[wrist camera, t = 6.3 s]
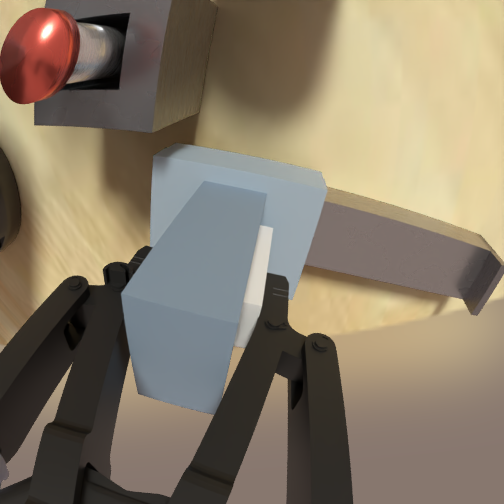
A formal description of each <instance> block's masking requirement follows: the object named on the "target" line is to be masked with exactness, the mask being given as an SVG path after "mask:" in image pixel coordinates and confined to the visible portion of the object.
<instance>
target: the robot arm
mask: <svg viewBox="0 0 504 504" xmlns="http://www.w3.org/2000/svg"><path fill="white" fill-rule="evenodd" d="M20 218H21V212H20V201H19V194H18V190H17V185H16V182H15V178H14V175H13V172H12V170H11V167H10V165H9V163H8V160H7V158H6V156H5V155H4V153H3V151H2V150H1V148H0V252H1V251H2V250H4V249H5V248H6V247H7V246H8V245H9V244H11V243H12V242H13V241H14V239H15V238H16V236H17V234H18V231H19V227H20ZM272 233H273V228H271V227H267V226H262V225H260V228H259V232H258V237H257V241H256V246H255V250H254V255H253V260H252V264H251V269H250V273H249V278H248V282H247V287H246V291H245V296H244V300H243V305H242V309H241V314H240V318H239V323H238V327H237V332H236V336H235V341H234V346H236V347H241V348H245V350H244V353H243V355H242V357H241V359H240V361H239V364H238V366H237V368H236V370H235V372H234V374H233V377H232V379H231V381H230V383H229V385H228V387H227V390H226V392H225V394H224V396H223V398H222V400H221V402H220V404H219V406H218V408H217V411H216V413H215V415H214V417H213V419H212V421H211V423H210V425H209V427H208V429H207V432H206V433H205V436H204V438H203V440H202V442H201V444H200V446H199V448H198V450H197V452H196V454H195V456H194V458H193V460H192V462H191V464H190V465H189V467H188V468H187V469H186V470H185V472H184V473H183V475H182V477H181V479H180V481H179V483H178V485H177V487H176V488H175V490H174V493H173V494H172V496H171V497H167V496H164V495H160V494H152V493H142V492H132V491H127V490H125V489H123V488H122V487H120V486H118V485H117V484H115V483H114V482H112V481H111V480H110V475H111V465H110V451H111V445H112V439H113V433H114V428H115V423H116V418H117V412H118V407H119V403H120V398H121V393H122V388H123V384H124V379H125V375H126V370H127V366H128V362H129V358H130V351H129V345H128V339H127V333H126V326H125V319H124V312H123V305H122V297H121V293H122V291H123V290H124V289H125V287H126V286H127V284H128V283H129V281H130V280H131V278H132V277H133V275H134V274H135V272H136V271H137V270H138V268H139V267H140V265H141V264H142V262H143V261H144V260H145V258H146V257H147V255H148V254H149V253H150V251H151V250H152V248H153V247H149V246H145V247H143V248H141V249H140V250H138V251H137V253H136V254H135V255H134V257H133V258H132V259H131V261H130V262H129V263H128V264H127V263H123V262H113V263H110V264H108V265H106V266H105V267H104V268H103V274H104V281H105V285H100V286H98V285H89V284H88V281H87V279H86V278H84V277H82V276H71V277H69V278H67V279H66V280H64V281H63V282H62V283H61V284H60V285H59V286H58V287H57V288H56V290H55V291H54V292H53V293H52V294H51V295H50V296H49V297H48V298H47V299H46V300H45V301H44V302H43V304H42V305H41V306H40V307H39V308H38V309H37V310H36V311H35V312H34V314H33V315H32V316H31V317H30V318H29V319H28V320H27V322H26V323H25V324H24V325H23V326H22V327H21V329H20V330H19V331H18V332H17V333H16V335H15V336H14V337H13V338H12V339H11V341H10V342H9V343H8V344H7V346H6V347H5V348H4V349H3V351H2V352H1V353H0V486H1V482H2V481H3V480H6V479H7V478H8V477H9V471H8V469H7V466H6V463H8V462H9V461H10V460H11V458H12V457H13V456H14V455H15V454H16V452H17V451H18V449H19V448H20V446H21V445H22V443H23V441H24V439H25V438H26V436H27V434H28V433H29V431H30V429H31V427H32V426H33V424H34V422H35V421H36V419H37V417H38V416H39V414H40V412H41V411H42V409H43V407H44V406H45V404H46V403H47V401H48V399H49V398H50V396H51V395H52V393H53V392H54V390H55V388H56V387H57V385H58V384H59V382H60V381H61V379H62V377H63V376H64V375H65V373H66V371H67V370H68V369H69V367H70V365H71V364H72V363H73V364H72V367H71V370H70V373H69V375H68V379H67V381H66V384H65V388H64V390H63V394H62V397H61V400H60V403H59V406H58V410H57V413H56V417H55V419H54V421H53V422H51V423H48V424H47V425H46V426H45V428H44V431H43V434H42V438H41V441H40V445H39V449H38V453H37V457H36V462H35V466H34V470H33V475H32V476H31V477H29V478H27V479H24V480H22V481H20V482H18V483H15V484H13V485H11V486H8V487H6V488H3V489H1V490H0V504H226V502H227V500H228V497H229V495H230V493H231V490H232V487H233V484H234V481H235V478H236V476H237V473H238V471H239V469H240V466H241V463H242V461H243V458H244V456H245V453H246V451H247V448H248V446H249V443H250V440H251V438H252V435H253V432H254V430H255V427H256V424H257V422H258V419H259V416H260V414H261V411H262V408H263V405H264V402H265V399H266V397H267V394H268V391H269V388H270V385H271V382H272V380H273V377H274V374H275V373H277V374H279V375H281V376H283V377H285V378H287V379H288V462H287V465H288V466H287V504H353V495H352V481H351V468H350V456H349V445H348V435H347V426H346V418H345V409H344V401H343V393H342V386H341V379H340V372H339V365H338V358H337V351H336V347H335V344H334V342H333V341H332V339H331V338H330V337H328V336H326V335H324V334H321V333H313V334H310V335H309V336H308V337H306V336H304V335H302V334H300V333H298V332H296V331H295V330H294V329H292V328H291V326H290V325H289V323H288V297H289V282H288V280H287V278H286V277H285V276H282V275H277V274H272V273H268V272H267V268H268V261H269V254H270V247H271V240H272Z"/></svg>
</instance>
